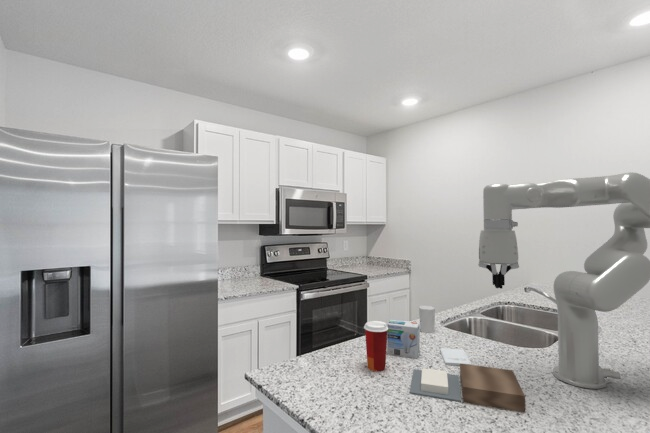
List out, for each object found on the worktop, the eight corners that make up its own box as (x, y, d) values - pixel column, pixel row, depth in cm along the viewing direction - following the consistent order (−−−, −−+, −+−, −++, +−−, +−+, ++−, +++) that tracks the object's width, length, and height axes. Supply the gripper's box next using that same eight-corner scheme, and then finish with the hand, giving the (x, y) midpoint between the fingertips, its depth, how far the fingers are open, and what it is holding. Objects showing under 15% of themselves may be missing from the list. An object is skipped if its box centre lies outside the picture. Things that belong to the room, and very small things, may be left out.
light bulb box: (386, 354, 116) (386, 323, 117) (390, 348, 123) (390, 318, 123) (418, 359, 112) (417, 327, 113) (420, 352, 119) (419, 321, 119)
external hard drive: (463, 354, 118) (472, 368, 106) (439, 352, 120) (445, 367, 107) (463, 349, 118) (472, 363, 106) (439, 347, 120) (445, 361, 107)
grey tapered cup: (437, 333, 138) (437, 309, 138) (421, 333, 138) (421, 309, 138) (432, 328, 145) (432, 305, 145) (417, 328, 145) (417, 305, 145)
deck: (512, 384, 95) (512, 370, 95) (525, 412, 80) (525, 396, 80) (460, 376, 99) (459, 363, 99) (463, 402, 85) (463, 386, 85)
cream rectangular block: (422, 368, 100) (422, 374, 100) (421, 383, 90) (421, 390, 90) (446, 371, 98) (446, 378, 98) (448, 387, 88) (448, 394, 88)
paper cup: (391, 365, 107) (390, 322, 108) (385, 375, 100) (384, 328, 101) (368, 361, 111) (367, 319, 111) (360, 370, 104) (360, 325, 104)
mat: (458, 376, 99) (458, 375, 99) (461, 402, 85) (461, 400, 85) (413, 370, 104) (413, 369, 104) (409, 393, 90) (409, 392, 90)
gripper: (523, 225, 99) (524, 286, 99) (469, 225, 104) (470, 284, 104) (529, 225, 92) (530, 291, 92) (471, 226, 97) (472, 288, 97)
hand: (498, 287), depth 98 cm, fingers closed
